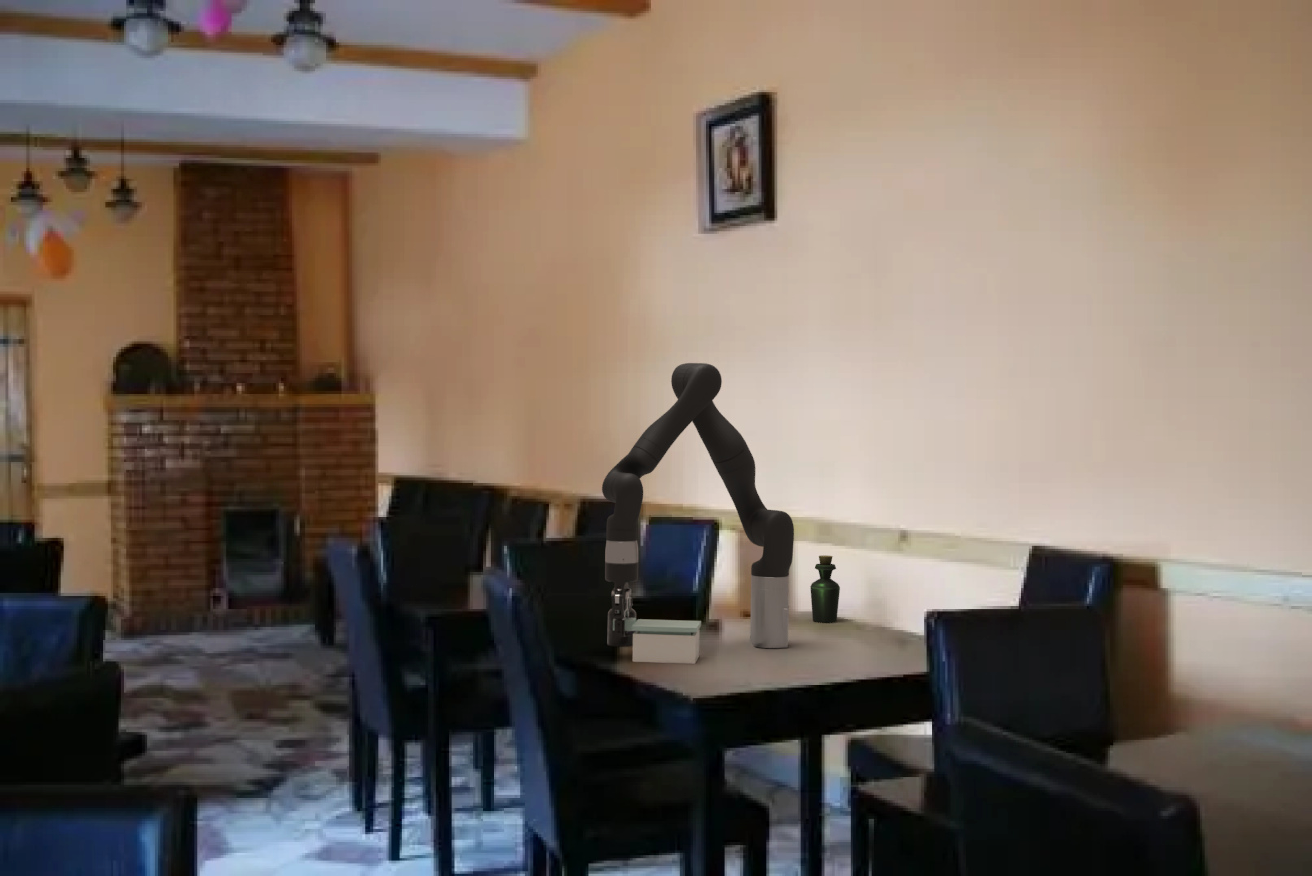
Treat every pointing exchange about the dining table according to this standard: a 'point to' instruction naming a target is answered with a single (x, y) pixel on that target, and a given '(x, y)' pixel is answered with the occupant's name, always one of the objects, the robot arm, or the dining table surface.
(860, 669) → the dining table surface
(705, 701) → the dining table surface
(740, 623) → the dining table surface
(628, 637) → the supplement bottle
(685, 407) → the robot arm
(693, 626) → the lid
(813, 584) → the potion bottle
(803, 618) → the dining table surface
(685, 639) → the tub
